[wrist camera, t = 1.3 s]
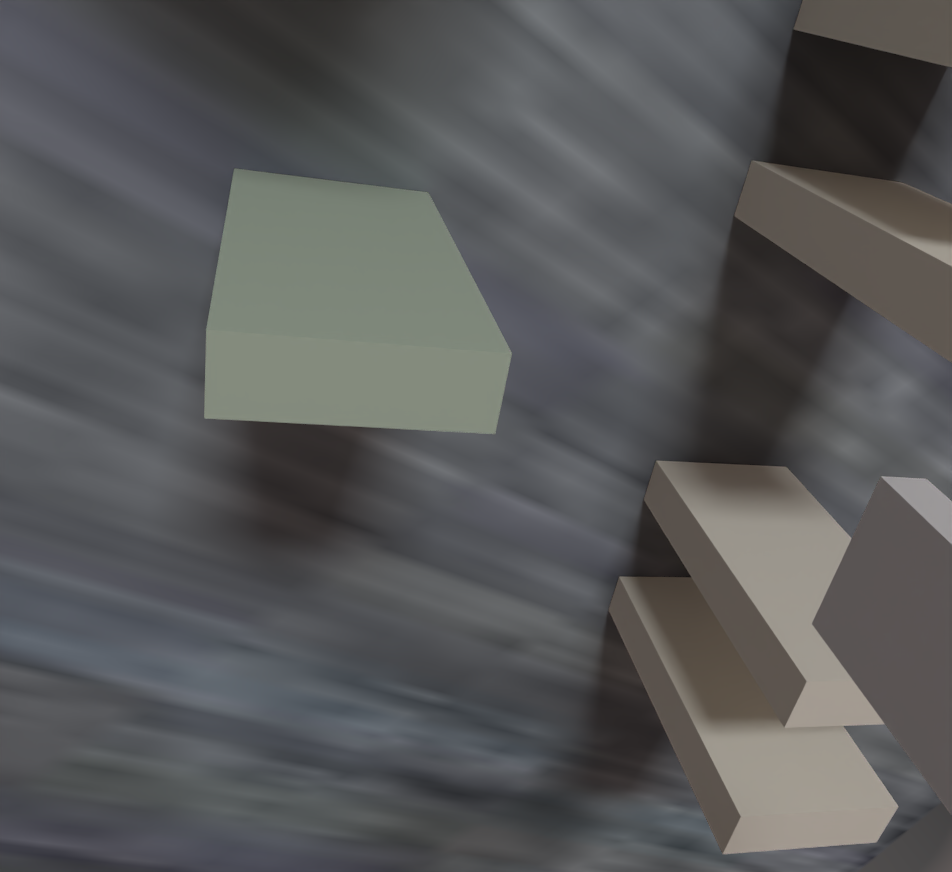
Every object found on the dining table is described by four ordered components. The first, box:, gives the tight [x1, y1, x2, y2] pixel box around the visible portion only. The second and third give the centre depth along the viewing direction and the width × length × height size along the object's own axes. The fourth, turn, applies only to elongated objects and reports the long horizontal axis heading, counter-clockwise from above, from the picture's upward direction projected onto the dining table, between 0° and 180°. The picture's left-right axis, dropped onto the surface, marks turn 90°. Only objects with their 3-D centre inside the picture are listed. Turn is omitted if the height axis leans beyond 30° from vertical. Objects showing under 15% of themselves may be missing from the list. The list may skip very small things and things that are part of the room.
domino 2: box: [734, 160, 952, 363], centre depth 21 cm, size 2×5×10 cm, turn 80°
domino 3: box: [644, 461, 885, 728], centre depth 26 cm, size 2×5×10 cm, turn 80°
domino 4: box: [609, 576, 898, 854], centre depth 29 cm, size 2×5×10 cm, turn 81°
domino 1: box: [204, 168, 512, 434], centre depth 19 cm, size 2×5×10 cm, turn 80°
